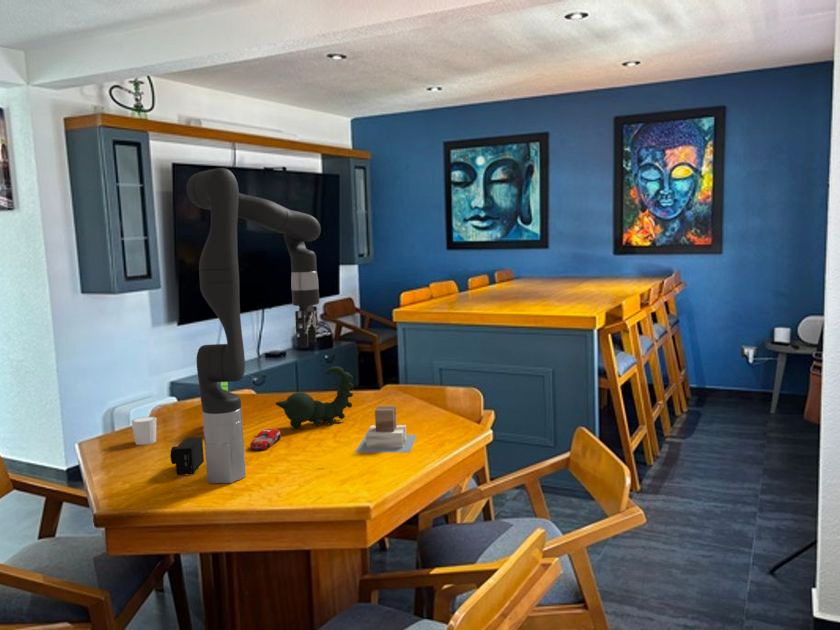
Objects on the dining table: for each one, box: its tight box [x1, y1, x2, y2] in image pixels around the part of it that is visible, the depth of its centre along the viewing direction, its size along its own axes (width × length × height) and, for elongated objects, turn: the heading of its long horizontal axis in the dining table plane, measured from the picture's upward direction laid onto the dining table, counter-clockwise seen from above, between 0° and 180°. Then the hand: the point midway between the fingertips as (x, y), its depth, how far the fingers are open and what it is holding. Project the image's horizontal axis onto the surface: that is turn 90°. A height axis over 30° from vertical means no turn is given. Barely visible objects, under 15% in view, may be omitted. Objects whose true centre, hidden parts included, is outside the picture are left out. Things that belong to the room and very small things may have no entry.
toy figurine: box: [275, 365, 354, 430], centre depth 217 cm, size 9×19×25 cm
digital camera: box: [170, 436, 205, 476], centre depth 180 cm, size 10×5×7 cm, turn 3°
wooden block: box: [365, 424, 407, 448], centre depth 193 cm, size 8×10×4 cm
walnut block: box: [374, 405, 398, 432], centre depth 193 cm, size 5×5×6 cm
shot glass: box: [131, 416, 157, 446], centre depth 205 cm, size 7×7×7 cm
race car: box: [249, 428, 282, 451], centre depth 199 cm, size 13×5×4 cm, turn 168°
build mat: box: [354, 434, 418, 453], centre depth 193 cm, size 16×15×1 cm
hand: (308, 345), depth 197 cm, fingers open, 8 cm apart
